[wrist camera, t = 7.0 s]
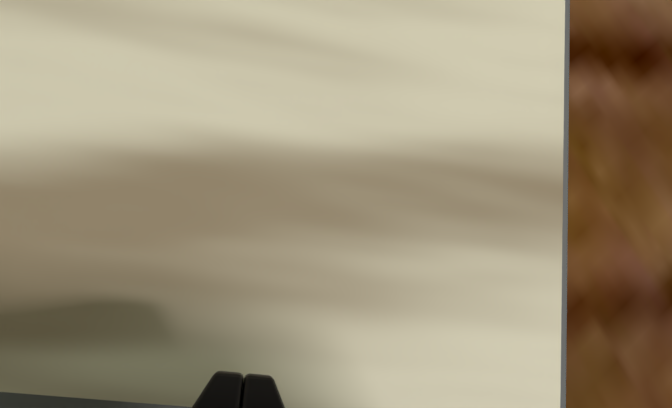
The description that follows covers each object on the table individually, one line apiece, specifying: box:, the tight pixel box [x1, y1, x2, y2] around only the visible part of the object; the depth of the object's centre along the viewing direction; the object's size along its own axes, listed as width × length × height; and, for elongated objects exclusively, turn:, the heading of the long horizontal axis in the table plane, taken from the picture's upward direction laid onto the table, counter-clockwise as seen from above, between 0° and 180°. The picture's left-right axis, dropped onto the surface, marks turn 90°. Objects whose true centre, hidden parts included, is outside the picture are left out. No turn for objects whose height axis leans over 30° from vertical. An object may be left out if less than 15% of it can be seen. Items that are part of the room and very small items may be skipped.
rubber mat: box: [0, 0, 570, 408], centre depth 16 cm, size 22×18×1 cm
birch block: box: [0, 0, 565, 408], centre depth 13 cm, size 5×12×10 cm
